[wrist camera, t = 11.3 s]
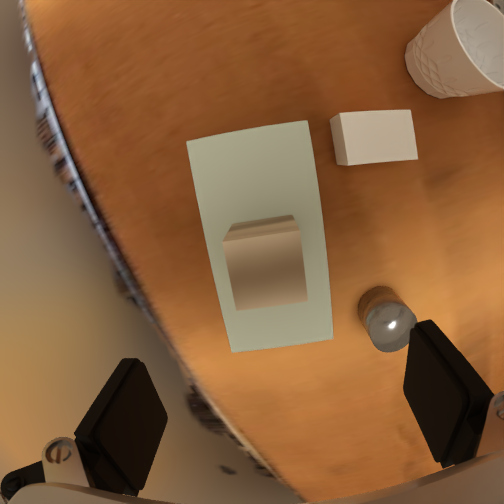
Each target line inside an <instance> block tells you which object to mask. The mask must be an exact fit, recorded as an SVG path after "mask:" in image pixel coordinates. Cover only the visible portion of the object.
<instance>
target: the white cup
mask: <svg viewBox="0 0 504 504" xmlns="http://www.w3.org/2000/svg"><path fill="white" fill-rule="evenodd" d="M405 61H406V66H407V70H408V72H409V74H410V75H411V77H412V79H413V80H414V82H415V84H416V85H418V86H419V87H420V88H421V89H422V90H423V91H424V92H426V93H427V94H428V95H431V96H434V97H437V98H439V99H443V98H450V97H456V96H459V97H464V96H472V95H479V94H485V93H493V92H501V91H504V15H503V14H502V13H501V12H500V11H499V10H498V9H497V8H496V7H495V6H493V5H492V4H491V3H489V2H488V1H486V0H453V1H451V2H450V3H449V4H448V5H447V6H446V7H445V8H444V9H443V10H441V11H440V12H439V13H438V14H437V15H436V16H435V17H434V18H433V19H431V20H430V21H429V22H428V23H427V24H426V25H425V26H424V27H423V28H422V29H421V30H420V32H419V34H418V35H417V36H416V37H415V38H414V39H413V40H411V41H410V42H409V43H408V44H407V48H406V52H405Z"/></svg>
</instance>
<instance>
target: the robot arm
mask: <svg viewBox="0 0 504 504" xmlns="http://www.w3.org/2000/svg"><path fill="white" fill-rule="evenodd" d="M490 3H491V4H492V5H493V6H495V7H496V8H497V9H498V10H499V11H500V12H501V13H502V14H503V15H504V0H490ZM403 390H404V395H405V397H406V399H407V401H408V403H409V405H410V407H411V409H412V411H413V414H414V416H415V418H416V420H417V422H418V424H419V426H420V429H421V431H422V433H423V435H424V437H425V440H426V442H427V444H428V446H429V449H430V451H431V453H432V456H433V458H434V460H435V461H436V462H437V463H438V462H440V463H441V466H442V468H443V469H444V468H446V467H449V466H451V465H454V464H455V466H452V467H449V468H447V469H444V470H442V471H439V472H436V473H433V474H430V475H427V476H424V477H421V478H418V479H415V480H412V481H408V482H405V483H402V484H398V485H395V486H391V487H387V488H384V489H380V490H376V491H371V492H367V493H362V494H358V495H353V496H348V497H342V498H336V499H330V500H324V501H316V502H309V503H300V504H504V391H502V392H499V393H498V394H496V395H494V394H493V392H492V391H491V390H490V389H489V387H488V386H487V385H486V383H485V382H484V381H483V380H482V378H481V377H480V376H479V374H478V373H477V372H476V371H475V369H474V368H473V367H472V366H471V364H470V363H469V362H468V361H467V360H466V358H465V357H464V356H463V355H462V353H461V352H460V351H458V350H457V348H456V347H455V346H454V345H453V344H452V342H451V341H450V340H449V339H448V338H447V337H446V335H445V334H444V333H443V332H442V331H441V330H440V329H439V327H438V326H437V325H436V324H435V323H434V322H433V321H432V320H430V319H429V320H425V321H421V322H417V323H416V324H415V325H414V328H411V330H410V337H409V347H408V355H407V363H406V371H405V378H404V384H403ZM167 419H168V417H167V413H166V411H165V408H164V406H163V404H162V402H161V400H160V398H159V396H158V393H157V391H156V389H155V387H154V385H153V382H152V380H151V378H150V375H149V373H148V371H147V368H146V366H145V364H144V363H143V362H140V360H139V359H137V358H124V359H122V360H121V361H120V363H119V364H118V366H117V367H116V369H115V370H114V372H113V373H112V375H111V376H110V378H109V379H108V381H107V382H106V384H105V386H104V387H103V388H102V390H101V391H100V393H99V395H98V396H97V398H96V399H95V401H94V402H93V404H92V405H91V407H90V408H89V410H88V412H87V413H86V415H85V416H84V418H83V419H82V421H81V423H80V424H79V426H78V427H77V429H76V431H75V432H74V435H75V436H76V438H75V440H72V439H71V438H68V437H59V438H55V439H53V440H51V441H50V442H49V443H47V445H46V446H45V447H44V449H43V451H42V461H39V462H36V463H34V464H31V465H29V466H26V467H23V468H21V469H18V470H15V471H12V472H10V473H8V474H7V475H6V476H5V477H4V478H3V480H2V482H1V490H0V504H180V503H171V502H163V501H156V500H150V499H143V498H138V497H137V496H138V493H139V490H142V489H143V488H144V486H145V483H146V480H147V477H148V474H149V471H150V469H151V466H152V463H153V460H154V457H155V454H156V452H157V449H158V446H159V443H160V441H161V438H162V435H163V432H164V430H165V427H166V424H167ZM122 494H125V495H122ZM127 495H130V496H127ZM132 496H135V497H132Z"/></svg>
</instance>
